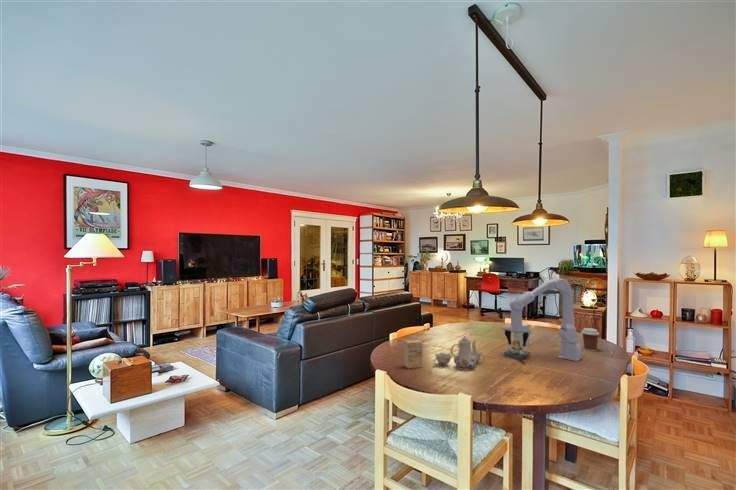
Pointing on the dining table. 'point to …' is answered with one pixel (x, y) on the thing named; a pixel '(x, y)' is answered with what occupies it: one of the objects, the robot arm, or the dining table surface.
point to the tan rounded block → (517, 344)
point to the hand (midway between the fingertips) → (517, 345)
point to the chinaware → (461, 355)
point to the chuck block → (515, 355)
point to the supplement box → (413, 354)
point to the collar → (518, 351)
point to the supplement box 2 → (520, 335)
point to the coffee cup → (590, 339)
